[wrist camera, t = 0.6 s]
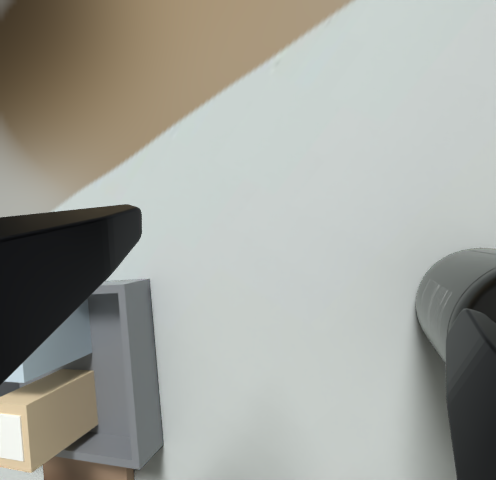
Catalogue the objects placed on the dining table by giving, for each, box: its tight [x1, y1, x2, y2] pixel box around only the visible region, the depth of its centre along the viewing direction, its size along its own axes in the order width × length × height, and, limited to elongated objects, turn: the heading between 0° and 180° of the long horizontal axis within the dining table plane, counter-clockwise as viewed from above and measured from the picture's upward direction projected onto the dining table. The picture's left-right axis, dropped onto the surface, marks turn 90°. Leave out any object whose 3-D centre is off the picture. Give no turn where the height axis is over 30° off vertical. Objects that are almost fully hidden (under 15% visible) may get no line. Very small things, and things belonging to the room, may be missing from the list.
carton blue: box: [4, 299, 92, 383], centre depth 26 cm, size 4×4×6 cm
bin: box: [0, 279, 163, 470], centre depth 28 cm, size 13×15×3 cm
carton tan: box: [0, 369, 98, 473], centre depth 26 cm, size 4×4×6 cm
